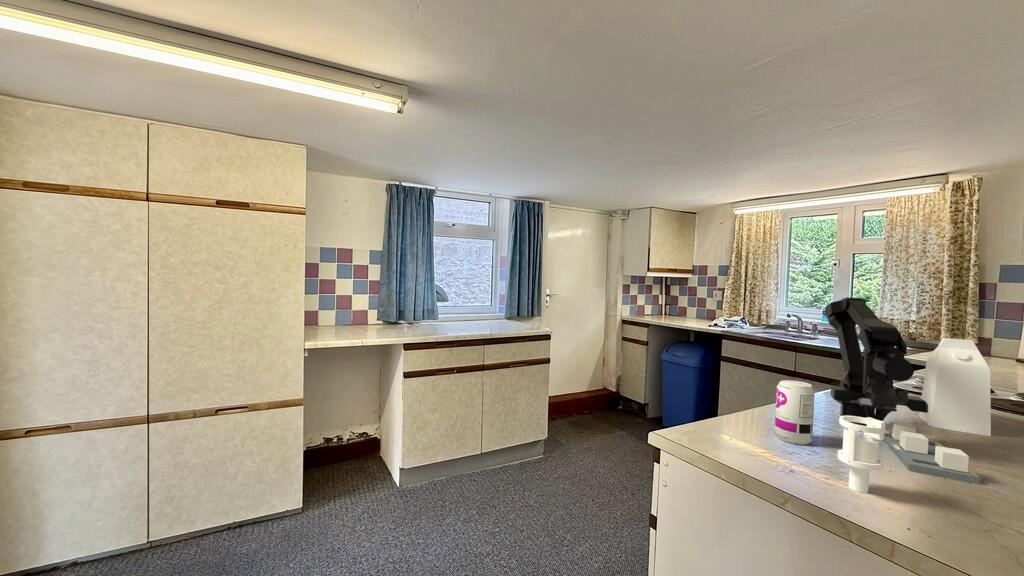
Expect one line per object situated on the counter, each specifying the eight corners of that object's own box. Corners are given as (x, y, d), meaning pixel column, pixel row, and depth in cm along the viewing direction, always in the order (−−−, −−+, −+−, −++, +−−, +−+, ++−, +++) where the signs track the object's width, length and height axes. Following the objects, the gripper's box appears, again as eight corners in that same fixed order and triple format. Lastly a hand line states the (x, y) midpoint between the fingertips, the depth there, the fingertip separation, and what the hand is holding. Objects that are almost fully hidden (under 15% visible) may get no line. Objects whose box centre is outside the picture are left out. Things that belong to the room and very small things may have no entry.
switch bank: (909, 470, 91) (909, 463, 91) (880, 437, 111) (881, 432, 110) (979, 484, 86) (979, 476, 86) (937, 447, 105) (937, 441, 105)
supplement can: (778, 442, 106) (781, 385, 105) (771, 431, 113) (774, 378, 113) (816, 448, 103) (819, 389, 102) (806, 436, 110) (809, 381, 110)
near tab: (941, 467, 90) (942, 452, 89) (934, 460, 93) (935, 445, 93) (967, 472, 88) (968, 456, 87) (959, 465, 91) (960, 449, 91)
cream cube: (894, 439, 105) (895, 425, 105) (889, 434, 109) (890, 421, 109) (915, 442, 103) (916, 429, 103) (909, 437, 107) (910, 424, 107)
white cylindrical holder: (869, 501, 78) (873, 424, 78) (828, 483, 85) (832, 412, 84) (889, 494, 81) (893, 419, 80) (848, 477, 87) (851, 408, 87)
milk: (973, 424, 124) (978, 339, 123) (990, 436, 114) (996, 343, 113) (919, 415, 130) (923, 335, 129) (931, 426, 120) (936, 339, 120)
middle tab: (904, 450, 98) (905, 436, 98) (899, 444, 102) (900, 430, 102) (927, 454, 96) (928, 439, 96) (921, 448, 100) (922, 434, 100)
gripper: (839, 373, 106) (836, 432, 107) (938, 384, 97) (935, 449, 97) (831, 365, 116) (828, 420, 116) (921, 375, 106) (918, 434, 107)
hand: (874, 430), depth 109 cm, fingers closed
